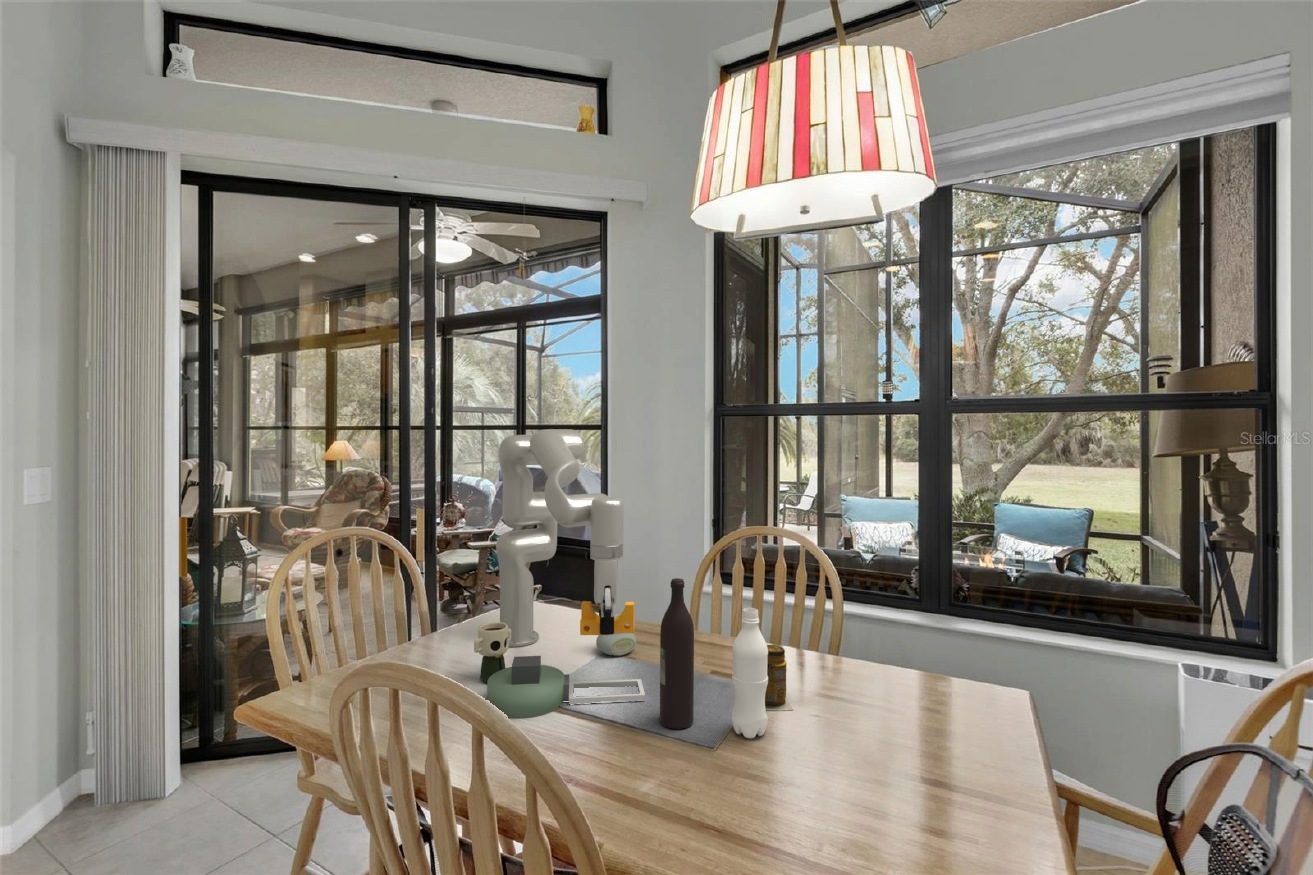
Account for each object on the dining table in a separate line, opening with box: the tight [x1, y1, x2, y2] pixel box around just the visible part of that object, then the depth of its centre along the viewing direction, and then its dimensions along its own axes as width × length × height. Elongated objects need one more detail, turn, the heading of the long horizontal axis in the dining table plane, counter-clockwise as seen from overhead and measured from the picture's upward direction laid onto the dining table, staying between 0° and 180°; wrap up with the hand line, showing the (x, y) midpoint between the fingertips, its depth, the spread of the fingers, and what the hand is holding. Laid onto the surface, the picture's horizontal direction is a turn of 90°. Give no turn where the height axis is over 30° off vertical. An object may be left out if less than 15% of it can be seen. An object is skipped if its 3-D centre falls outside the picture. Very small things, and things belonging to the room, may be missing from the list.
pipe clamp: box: [579, 600, 635, 636], centre depth 144 cm, size 12×4×6 cm, turn 88°
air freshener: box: [595, 612, 637, 657], centre depth 171 cm, size 11×8×10 cm
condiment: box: [765, 644, 794, 712], centre depth 141 cm, size 7×8×12 cm
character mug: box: [473, 621, 511, 683], centre depth 153 cm, size 11×7×13 cm, turn 143°
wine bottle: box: [659, 577, 695, 730], centre depth 131 cm, size 7×7×30 cm
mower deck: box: [486, 655, 646, 719], centre depth 142 cm, size 17×35×9 cm, turn 97°
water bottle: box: [731, 607, 769, 739], centre depth 127 cm, size 7×7×25 cm
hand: (606, 629), depth 144 cm, fingers closed on pipe clamp, 4 cm apart
